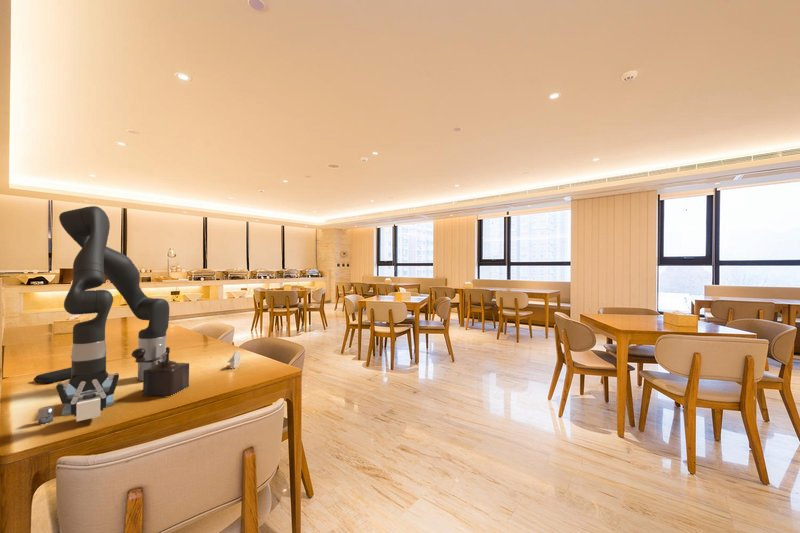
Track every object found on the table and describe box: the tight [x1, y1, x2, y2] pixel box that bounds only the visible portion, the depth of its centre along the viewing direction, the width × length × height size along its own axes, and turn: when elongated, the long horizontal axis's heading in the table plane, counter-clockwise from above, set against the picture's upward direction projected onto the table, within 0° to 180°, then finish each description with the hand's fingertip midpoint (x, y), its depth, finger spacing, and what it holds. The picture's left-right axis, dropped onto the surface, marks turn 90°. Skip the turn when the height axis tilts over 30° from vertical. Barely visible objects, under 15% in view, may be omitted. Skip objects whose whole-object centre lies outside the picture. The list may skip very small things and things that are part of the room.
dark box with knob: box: [131, 346, 190, 398], centre depth 118 cm, size 16×11×18 cm
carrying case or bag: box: [33, 366, 72, 385], centre depth 133 cm, size 11×3×15 cm
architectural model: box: [226, 350, 242, 368], centre depth 151 cm, size 3×7×7 cm, turn 179°
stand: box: [61, 378, 114, 416], centre depth 109 cm, size 12×12×6 cm
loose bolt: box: [37, 406, 54, 425], centre depth 96 cm, size 3×3×4 cm
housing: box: [75, 392, 101, 423], centre depth 97 cm, size 8×5×6 cm, turn 42°
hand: (89, 412), depth 97 cm, fingers closed on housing, 5 cm apart
